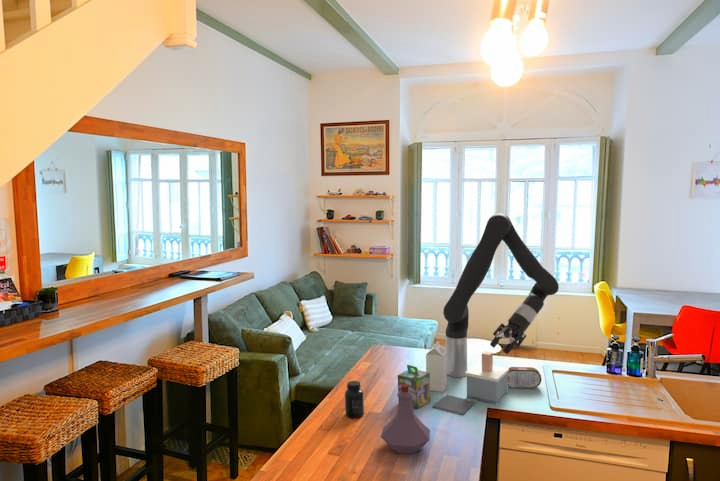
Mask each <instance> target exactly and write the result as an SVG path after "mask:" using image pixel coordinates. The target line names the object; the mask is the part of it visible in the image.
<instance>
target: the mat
mask: <svg viewBox="0 0 720 481" xmlns="http://www.w3.org/2000/svg"><path fill="white" fill-rule="evenodd" d="M476 403H477V402H476V400H472V399H468V398H462V397H457V396H455V395H451V394H446V395H445V396H443V397H442V398H441V399H439V400H438V401H437V402H435V404H433V405H432V408H434V409H437V410H442V411H447V412H450V413H453V414H457V415H461V416H464V415H465V414H466V413H467V412H468V411H469V410H470V409H472V407H473V406H474V405H475V404H476Z"/></svg>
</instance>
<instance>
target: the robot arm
mask: <svg viewBox="0 0 720 481" xmlns="http://www.w3.org/2000/svg"><path fill="white" fill-rule="evenodd" d="M502 241H503V243H505V245H506V246H507V248H508V249H509V251H510V253H511V254H512V256H513V258H514V259H515V261H516V263H517V264H518V266H519V267H520V268H521V270H522V271H523V273H525V275H526V276H527V277H528V278H530V279H532V280H534V282H535V284H534V285H533V286H532V288H531V289H530V291H529V294H528V295H527V297H525V299H524V301H523V302H522V303H521V304H520V305H519V306H518V307H517V309H516V310H515V311H514V312H513V314H511V316H510V317H509V319H507V322H508V323H507V325H505V324H504V323H500V325H499V326H498V327H497V328H496V330H494V331H493V333H492V335H493V336H494V338H493V339H492V340H491V342H490V346H491V347H492V348H494V349H495V348H496V346H497V345H498V344H499V342H500V341H502V340H504V339H509V342H508V343H507V344H506V345H505V347H504V348H503V350H502V352H503V353H504V354H506V355H508V354H509V353H510V352H511V351H512V350H513V349H514V348H515V347H516V348H519V347H520V345H522V343H523V341H524V340H525V339H526V338H527V335H526V333H525V332H526V331H527V329H528V328H529V327H530V325H531V324H532V323H533V321H534V320H535V318H536V316H537V315H538V314H539V312H540V311H542V308H543V307H544V305H545V303H544V302H545V300H546V298H547V297H548V296H554V295H555V294H557V293H558V292H559V288H560V287H559V283H558V280H557V279H556V278H555V277H554V275H553V274H551V273H550V272H549V271H548V270H547V269H546V268H545V267H544V266H542V264H541V262H540V261H539V260H538V259H537V258H536V256H535V255H534V254H533V252H532V251H531V250H530V248H528V246H527V245H526V244H525V242H524V241H523V240H522V238H521V237H520V236H519V233H518V231H517V230H516V229H515V227H514V225H513V223H512V221H511V218H510V217H509V216H508V215H507V214H505V213H504V212H503V213H502V212H498V213H494V214H493V215H491V216H490V217H489V218H488V220H487V221H486V225H485V228H484V231H483V233H482V236H481V238H480V241H479V243H478V244H477V246H476V247H475V249H474V250H473V251H472V253H471V255H470V257H469V259H467V262H466V264H465V266H464V268H463V269H462V270H463V271H462V273H461V275H460V278H459V279H458V282H457V284H456V287H455V289H454V291H453V293H452V294H451V296H450V297H449V299H448V301H447V302H446V303H445V305H444V307H443V312H442V313H443V316H444V319H445V320H446V321H447V326H446V329H445V350H446V351H447V376H449V377H452V378H461V377H465V376H466V375H465V372H466V371H467V370H468V329H469V317H470V316H469V306H468V304H469V301H470V300H471V298H472V296H473V295H474V294H475V292H476V291H477V290H478V289H479V288H480V286H481V285H482V283H483V281H484V279H485V278H486V277H487V276H486V275H487V274H488V272H489V269H491V268H490V267H491V265H492V263H493V260H494V256H495V254H496V251H497V249H498V247H499V246H500V244H501V242H502ZM466 377H467V376H466Z"/></svg>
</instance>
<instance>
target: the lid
mask: <svg viewBox="0 0 720 481" xmlns="http://www.w3.org/2000/svg"><path fill="white" fill-rule="evenodd" d="M493 354H494V352H491V351H490V352H489V351H483V352H482V353H481V362H477V363H475V364H474V365H473V366H471V367H470V368H469V369H467V371H466V372H465V375H466V377H467V376H470V377H475V378H480V379H485V380H489V381H494V382H498V381H499V380H500V379H501V378H503V377H504V376H505V375H506V374H507V373H508V372H509V368H510V367H503V366H498V365H493V364H494V362H493V361H494V359H493V357H494V356H493Z"/></svg>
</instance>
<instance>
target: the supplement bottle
mask: <svg viewBox="0 0 720 481" xmlns="http://www.w3.org/2000/svg"><path fill="white" fill-rule="evenodd" d="M361 387H362V386H361V382H360V381H358V380H351V381H348V382H347V383H346V388H347V389H345V391H344V405H345V406H344V407H345V410H344V411H345V415H346V417H347V416H348V417H347V418H349V417H350V418H349V419H359V417H360V418H362V417H363V416H364V414H365V406H364V405H365V403H364V391H363V390H362V389H361Z"/></svg>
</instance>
